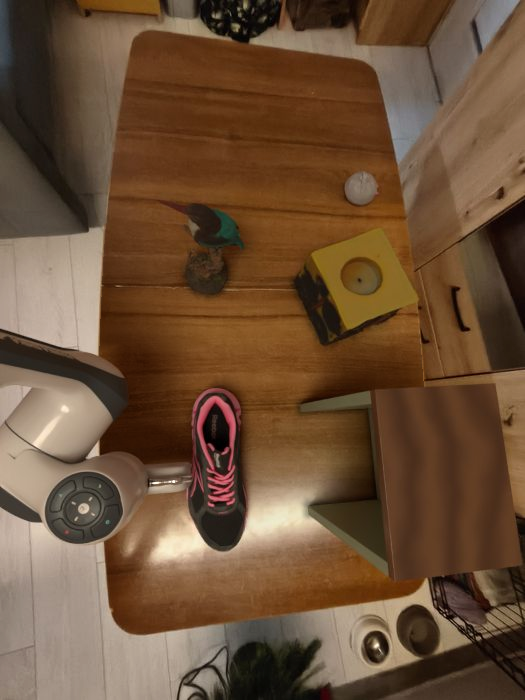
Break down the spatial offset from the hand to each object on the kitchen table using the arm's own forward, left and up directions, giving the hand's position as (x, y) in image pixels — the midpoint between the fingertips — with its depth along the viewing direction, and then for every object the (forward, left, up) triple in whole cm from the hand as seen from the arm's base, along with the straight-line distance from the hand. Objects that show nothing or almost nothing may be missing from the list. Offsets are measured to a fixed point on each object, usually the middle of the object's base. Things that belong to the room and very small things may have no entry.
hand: (129, 474), depth 70 cm
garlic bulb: (+46, +53, -4) cm, 71 cm away
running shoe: (+14, 0, -4) cm, 15 cm away
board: (+38, 0, +29) cm, 48 cm away
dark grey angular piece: (+38, 0, -4) cm, 38 cm away
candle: (+40, +30, -4) cm, 50 cm away
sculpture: (+13, +36, -4) cm, 39 cm away
